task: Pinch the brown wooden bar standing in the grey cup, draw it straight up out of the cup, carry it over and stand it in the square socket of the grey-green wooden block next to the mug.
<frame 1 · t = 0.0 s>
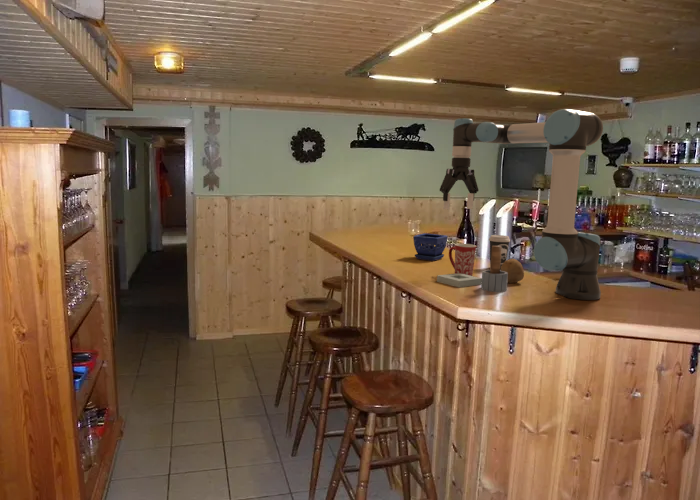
hand: (458, 209, 227), 28 cm above the countertop, fingers open, 13 cm apart
mug: (460, 276, 228), on the countertop
brown rounded lump: (511, 283, 217), on the countertop
flower pot: (429, 259, 272), on the countertop
brown wooden bar: (493, 289, 202), point 1 cm above the countertop, touching cup
socket block: (458, 284, 211), on the countertop
coffee cup: (497, 268, 250), on the countertop
cup: (493, 290, 202), on the countertop
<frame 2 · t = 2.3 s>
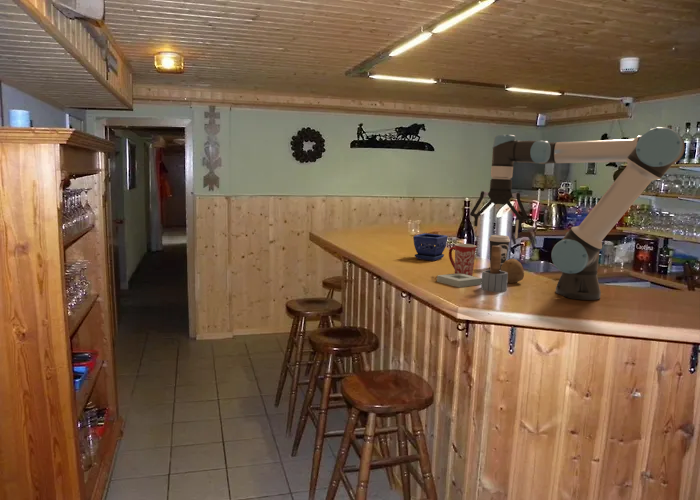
hand: (496, 236, 199), 20 cm above the countertop, fingers open, 13 cm apart
nothing on the countertop moved.
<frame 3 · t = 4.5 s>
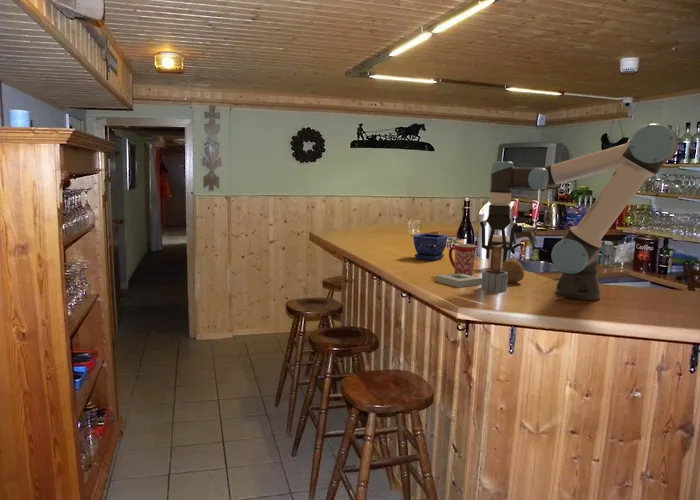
hand: (495, 267, 201), 9 cm above the countertop, fingers closed on brown wooden bar, 3 cm apart
brown wooden bar: (493, 289, 202), point 1 cm above the countertop, touching cup, gripper
everything else where it was.
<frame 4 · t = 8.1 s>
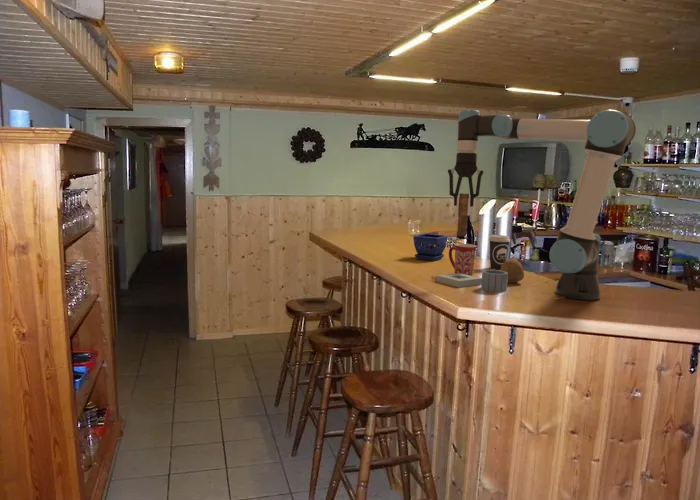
hand: (462, 214, 207), 27 cm above the countertop, fingers closed on brown wooden bar, 3 cm apart
brown wooden bar: (461, 235, 209), point 19 cm above the countertop, touching gripper
everything else where it was.
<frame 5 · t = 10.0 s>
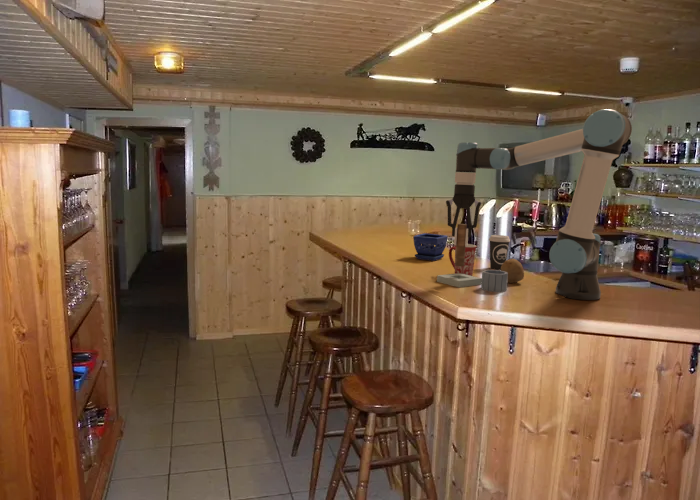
hand: (460, 245, 209), 15 cm above the countertop, fingers closed on brown wooden bar, 3 cm apart
brown wooden bar: (459, 265, 210), point 7 cm above the countertop, touching gripper
everything else where it was.
when the fingers open (10 cm above the countertop, at t = 11.8 s): brown wooden bar drops 2 cm, resting on socket block.
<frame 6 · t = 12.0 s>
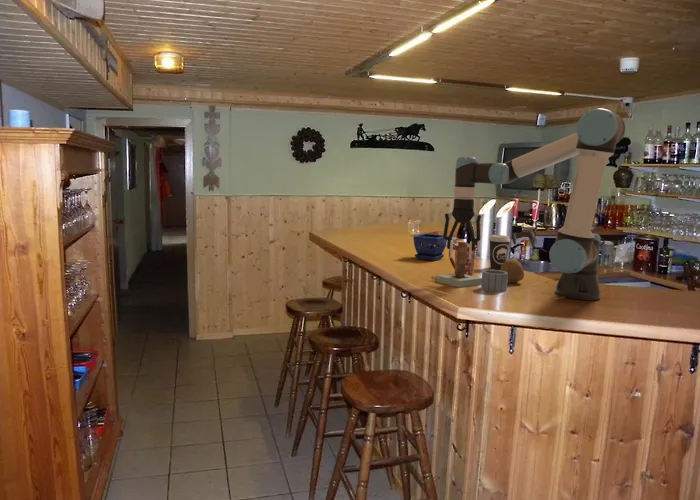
hand: (460, 258, 210), 10 cm above the countertop, fingers open, 7 cm apart
brown wooden bar: (459, 283, 211), point 1 cm above the countertop, touching socket block
everything else where it was.
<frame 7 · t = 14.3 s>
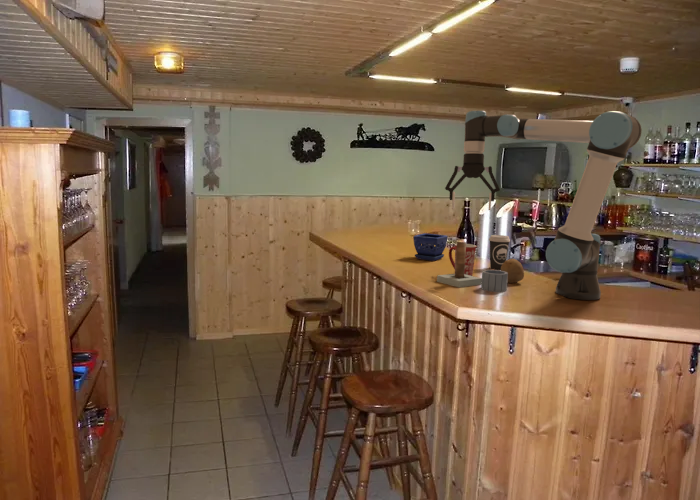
hand: (471, 209, 208), 29 cm above the countertop, fingers open, 13 cm apart
nothing on the countertop moved.
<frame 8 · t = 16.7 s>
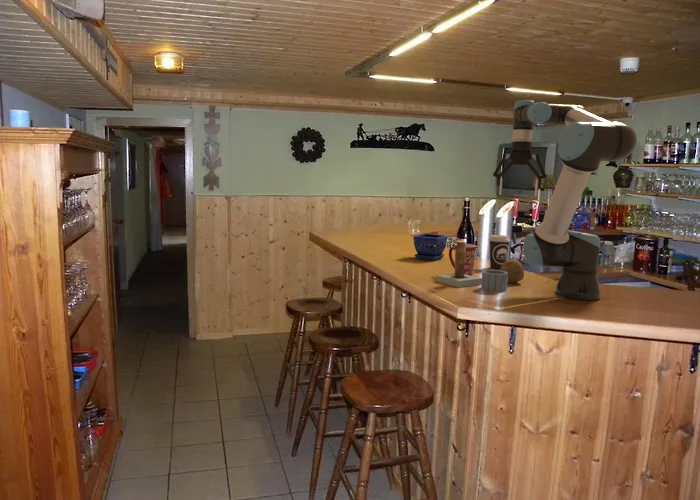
hand: (517, 195, 217), 35 cm above the countertop, fingers open, 13 cm apart
nothing on the countertop moved.
at the end: brown wooden bar 0.1 cm off-centre on the socket block, point 0.5 cm above the socket block's base; brown wooden bar tilted 0°; the gripper is holding nothing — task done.
